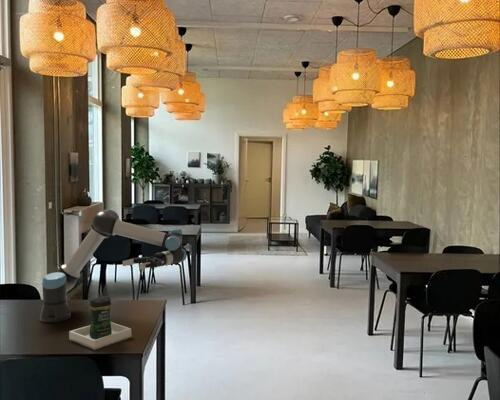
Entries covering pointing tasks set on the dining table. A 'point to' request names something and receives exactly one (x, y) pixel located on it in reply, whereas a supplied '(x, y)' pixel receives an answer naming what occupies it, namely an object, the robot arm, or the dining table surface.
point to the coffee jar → (100, 317)
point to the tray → (84, 338)
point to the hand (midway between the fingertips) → (131, 265)
